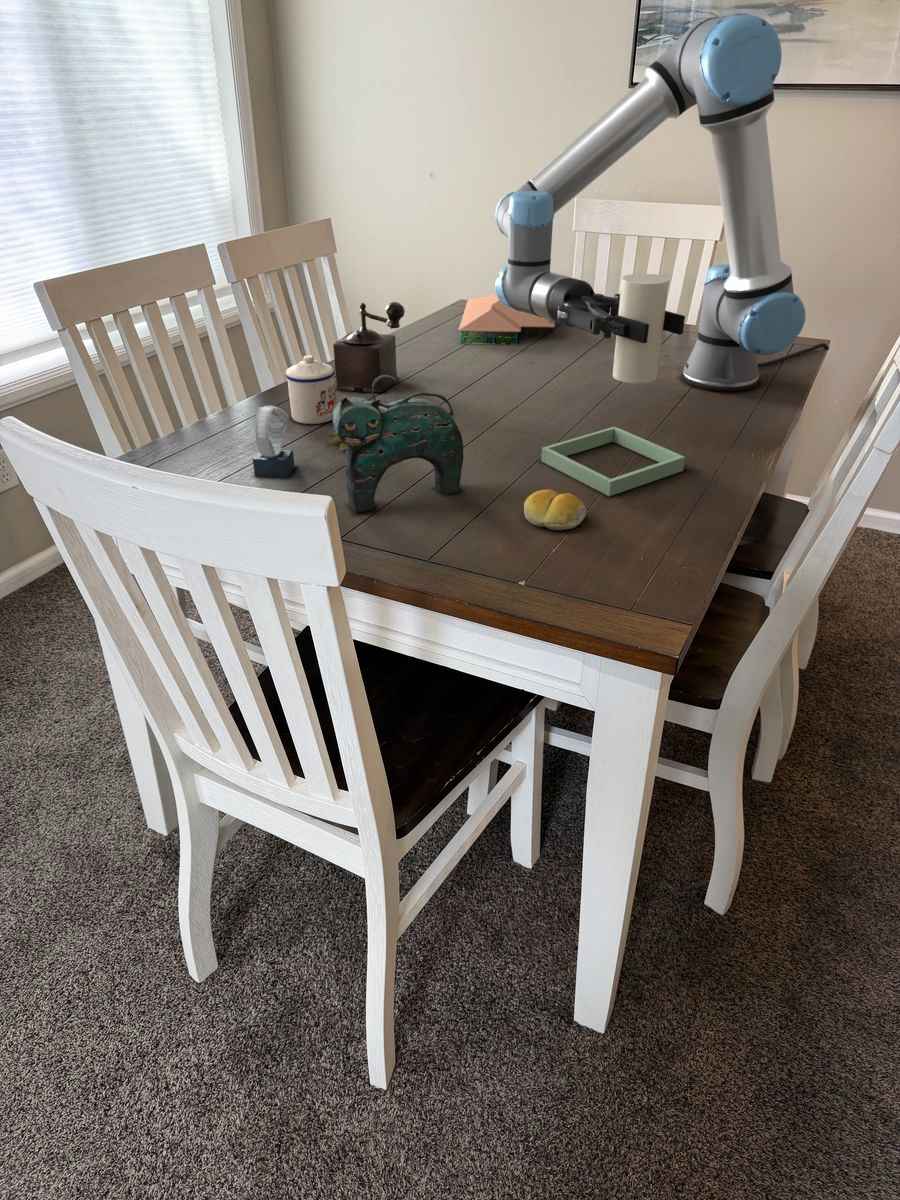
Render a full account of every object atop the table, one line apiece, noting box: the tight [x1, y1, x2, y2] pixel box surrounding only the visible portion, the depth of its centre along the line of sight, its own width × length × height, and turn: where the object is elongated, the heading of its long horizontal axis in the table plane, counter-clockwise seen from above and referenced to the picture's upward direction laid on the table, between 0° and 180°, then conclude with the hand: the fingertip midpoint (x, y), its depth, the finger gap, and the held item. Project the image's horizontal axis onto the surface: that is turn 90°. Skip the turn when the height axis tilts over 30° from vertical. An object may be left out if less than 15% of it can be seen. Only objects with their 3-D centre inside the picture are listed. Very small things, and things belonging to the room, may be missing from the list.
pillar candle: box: [612, 273, 670, 385], centre depth 129 cm, size 7×7×15 cm
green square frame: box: [541, 426, 686, 497], centre depth 138 cm, size 17×17×2 cm
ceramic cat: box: [332, 375, 465, 514], centre depth 124 cm, size 20×6×20 cm, turn 114°
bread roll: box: [523, 489, 587, 531], centre depth 122 cm, size 8×9×4 cm
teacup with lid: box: [285, 354, 337, 425], centre depth 157 cm, size 12×9×12 cm
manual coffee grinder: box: [332, 301, 406, 393], centre depth 170 cm, size 16×11×18 cm
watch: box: [252, 405, 296, 479], centre depth 135 cm, size 6×8×11 cm
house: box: [457, 293, 555, 345], centre depth 209 cm, size 23×33×8 cm
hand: (664, 329), depth 125 cm, fingers closed on pillar candle, 7 cm apart
